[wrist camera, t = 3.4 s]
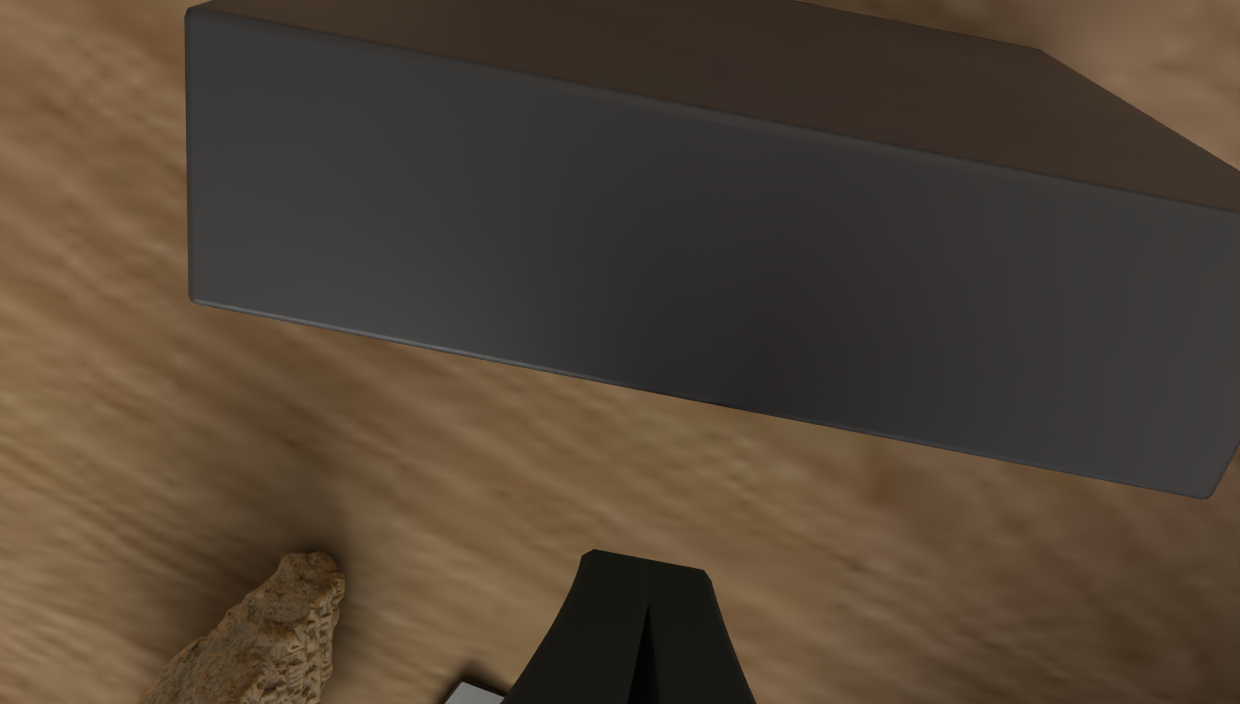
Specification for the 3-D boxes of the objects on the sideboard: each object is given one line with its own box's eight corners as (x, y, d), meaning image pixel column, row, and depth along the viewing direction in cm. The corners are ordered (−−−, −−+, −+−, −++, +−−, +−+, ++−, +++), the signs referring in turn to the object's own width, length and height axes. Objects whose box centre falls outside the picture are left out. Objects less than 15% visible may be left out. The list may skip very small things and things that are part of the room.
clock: (983, 219, 16) (1204, 519, 9) (419, 108, 16) (184, 321, 9) (1044, 49, 15) (1356, 237, 8) (435, -72, 15) (178, 5, 8)
